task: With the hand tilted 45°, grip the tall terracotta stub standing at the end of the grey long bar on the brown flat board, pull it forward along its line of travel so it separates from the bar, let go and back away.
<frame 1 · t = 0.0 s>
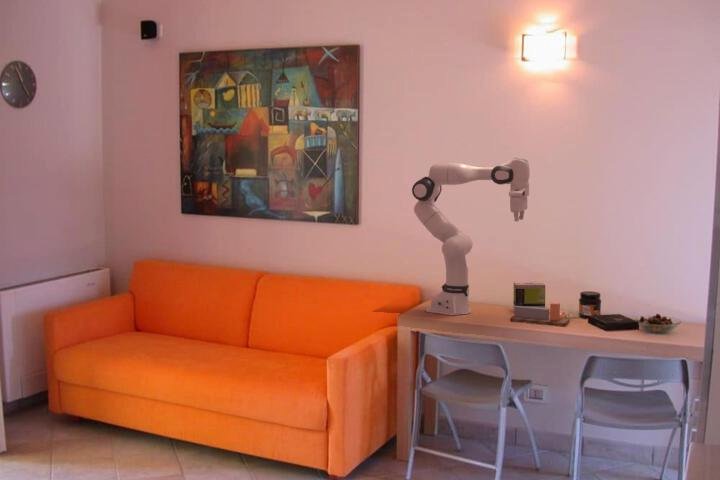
hand: (518, 220, 375), 48 cm above the table, tool pointing down, fingers open, 8 cm apart
stub: (554, 311, 369), point 6 cm above the table, slide at 0.0 cm
brown flat board: (539, 321, 373), on the table
supplement container: (589, 317, 383), on the table
portable cd player: (613, 327, 364), on the table
grey long bar: (531, 320, 374), resting on brown flat board
tea box: (528, 311, 396), on the table
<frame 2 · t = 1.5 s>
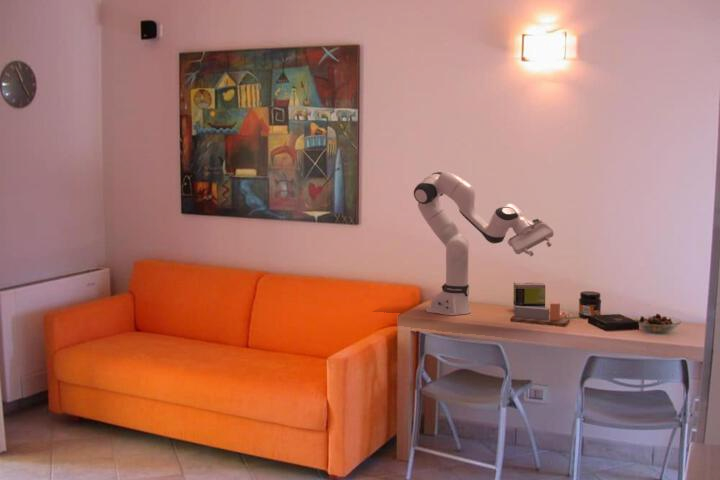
hand: (541, 250, 358), 36 cm above the table, tool tilted 55°, fingers open, 8 cm apart
nothing on the table moved.
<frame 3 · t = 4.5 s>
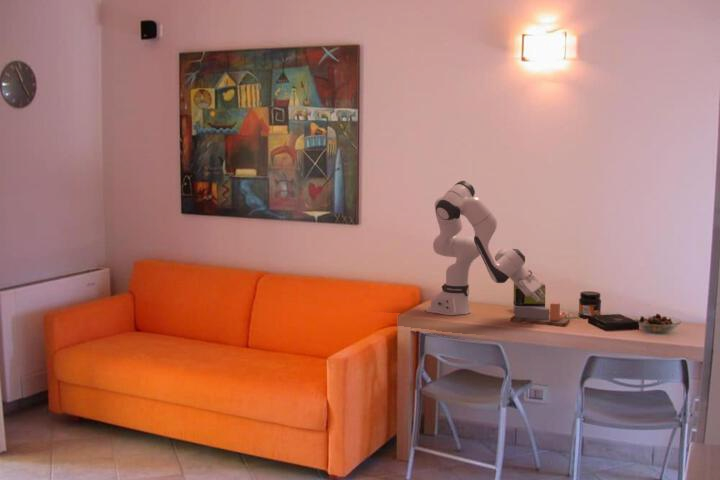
hand: (541, 299, 370), 11 cm above the table, tool tilted 45°, fingers open, 8 cm apart
nothing on the table moved.
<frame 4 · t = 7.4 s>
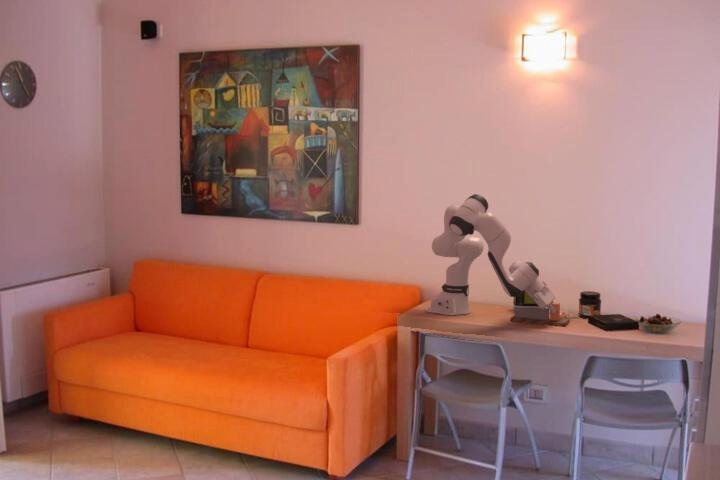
hand: (556, 311, 369), 6 cm above the table, tool tilted 45°, fingers closed on stub, 2 cm apart
stub: (554, 311, 369), point 6 cm above the table, slide at 0.0 cm, touching gripper
everything else where it was.
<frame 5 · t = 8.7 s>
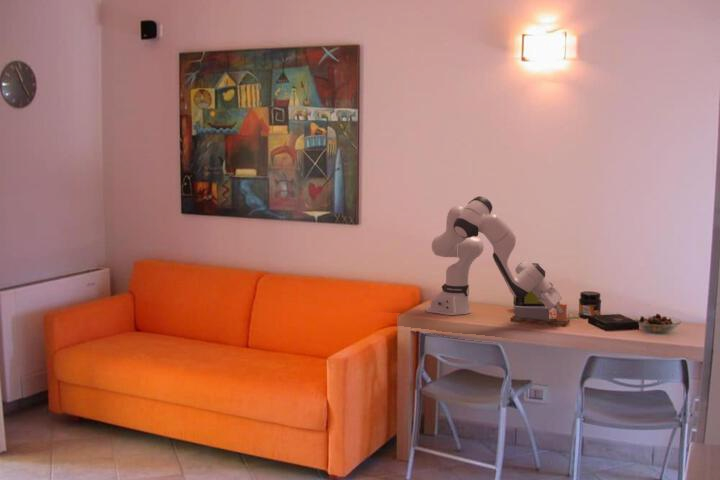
hand: (563, 311, 367), 6 cm above the table, tool tilted 45°, fingers closed on stub, 2 cm apart
stub: (561, 312, 368), point 6 cm above the table, slide at 3.1 cm, touching gripper
everything else where it was.
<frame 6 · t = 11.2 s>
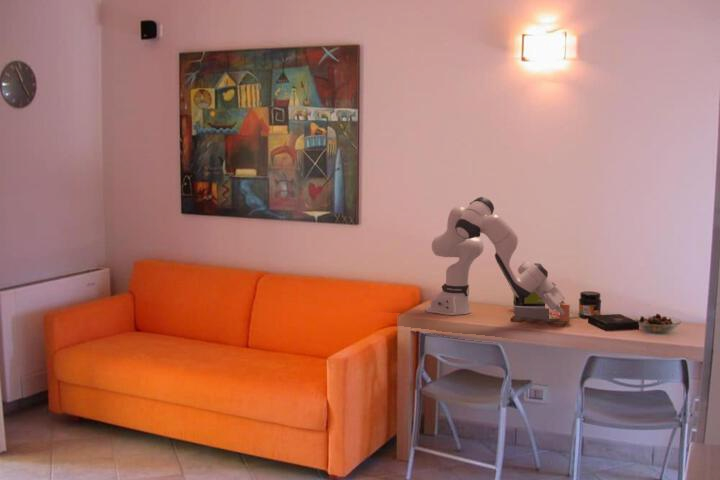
hand: (565, 311, 367), 6 cm above the table, tool tilted 45°, fingers open, 8 cm apart
stub: (564, 312, 367), point 6 cm above the table, slide at 4.5 cm
everything else where it was.
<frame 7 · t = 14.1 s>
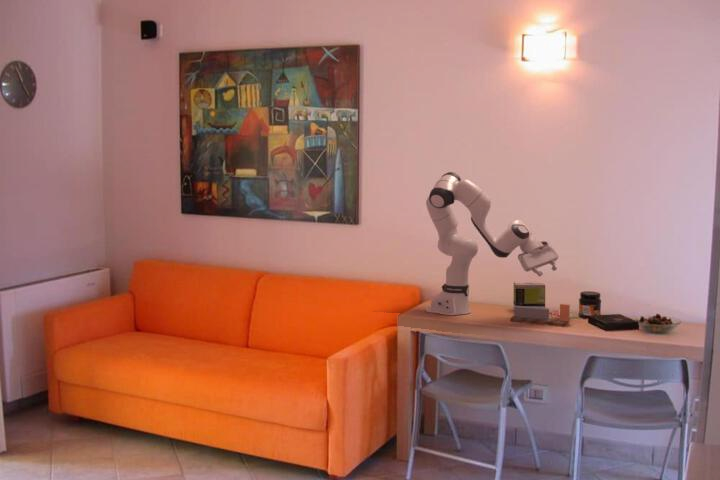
hand: (548, 272, 368), 24 cm above the table, tool tilted 45°, fingers open, 8 cm apart
nothing on the table moved.
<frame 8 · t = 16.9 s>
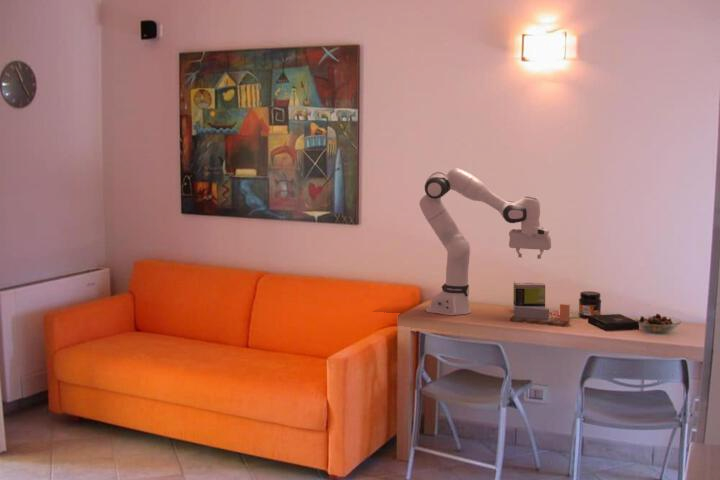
hand: (529, 257, 381), 29 cm above the table, tool pointing down, fingers open, 8 cm apart
nothing on the table moved.
at the end: stub slide at 4.5 cm; the gripper is holding nothing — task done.
